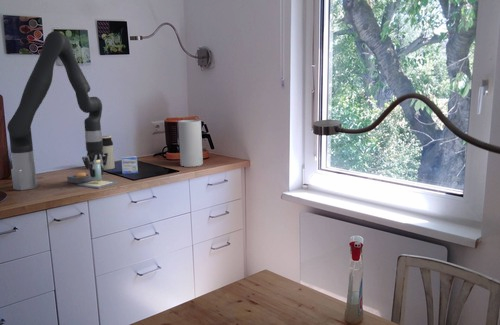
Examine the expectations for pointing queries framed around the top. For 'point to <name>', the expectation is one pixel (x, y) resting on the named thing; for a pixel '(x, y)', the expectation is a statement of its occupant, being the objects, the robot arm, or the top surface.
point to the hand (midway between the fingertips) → (97, 175)
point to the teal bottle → (97, 171)
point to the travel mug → (108, 149)
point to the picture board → (97, 184)
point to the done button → (80, 174)
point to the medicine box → (129, 165)
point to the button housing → (79, 179)
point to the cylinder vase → (190, 143)
